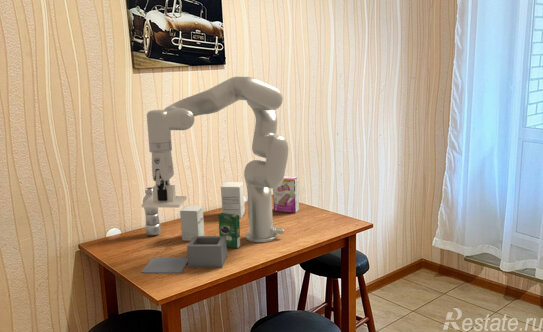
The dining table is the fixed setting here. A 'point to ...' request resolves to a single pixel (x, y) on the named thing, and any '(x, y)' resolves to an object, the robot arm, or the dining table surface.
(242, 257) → the dining table surface
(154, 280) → the dining table surface
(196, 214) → the supplement box
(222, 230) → the coffee box
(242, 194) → the supplement box
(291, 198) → the candy bar box
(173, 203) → the lid
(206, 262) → the storage box
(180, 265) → the mat
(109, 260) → the dining table surface
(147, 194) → the plastic bottle
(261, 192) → the robot arm
